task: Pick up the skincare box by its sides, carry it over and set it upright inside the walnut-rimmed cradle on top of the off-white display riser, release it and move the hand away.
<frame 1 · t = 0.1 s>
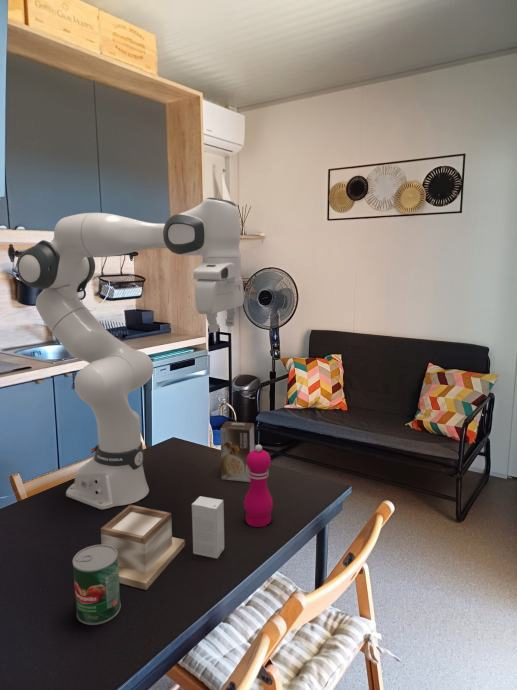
hand: (222, 329, 118), 48 cm above the table, fingers open, 8 cm apart
skincare box: (208, 552, 111), on the table
coffee box: (238, 477, 148), on the table
pepper mill: (258, 521, 124), on the table
canned tomato: (98, 610, 93), on the table
display stand: (138, 559, 108), on the table
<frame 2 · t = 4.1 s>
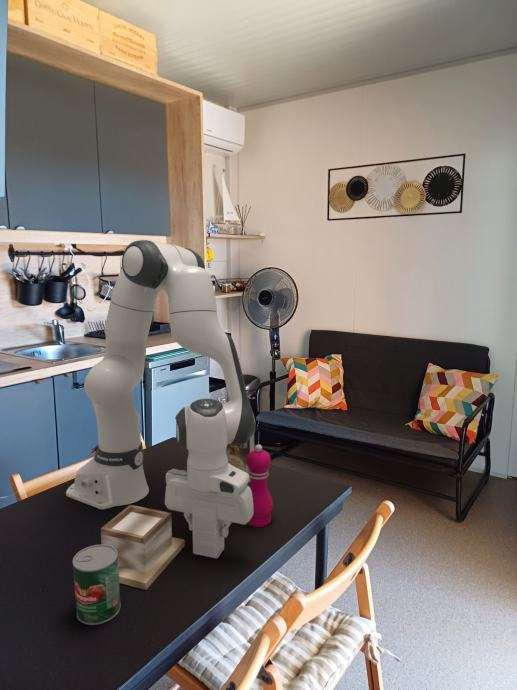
hand: (208, 532, 110), 5 cm above the table, fingers closed on skincare box, 6 cm apart
skincare box: (208, 552, 111), on the table, touching gripper
everything else where it was.
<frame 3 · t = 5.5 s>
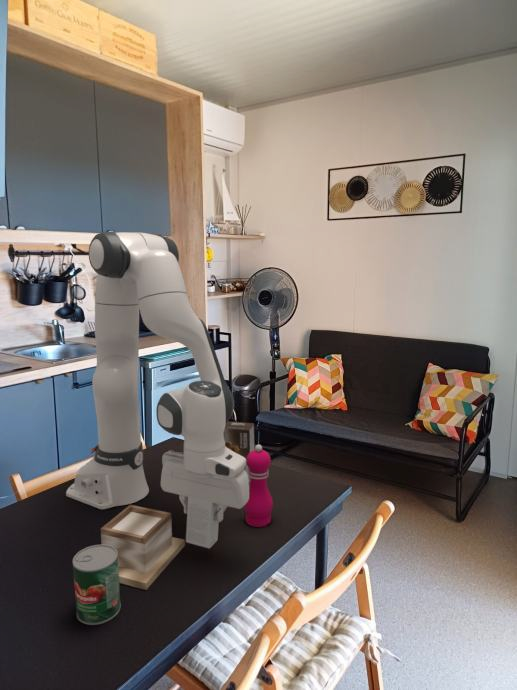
hand: (203, 516, 109), 9 cm above the table, fingers closed on skincare box, 6 cm apart
skincare box: (201, 542, 109), point 3 cm above the table, touching gripper
everything else where it was.
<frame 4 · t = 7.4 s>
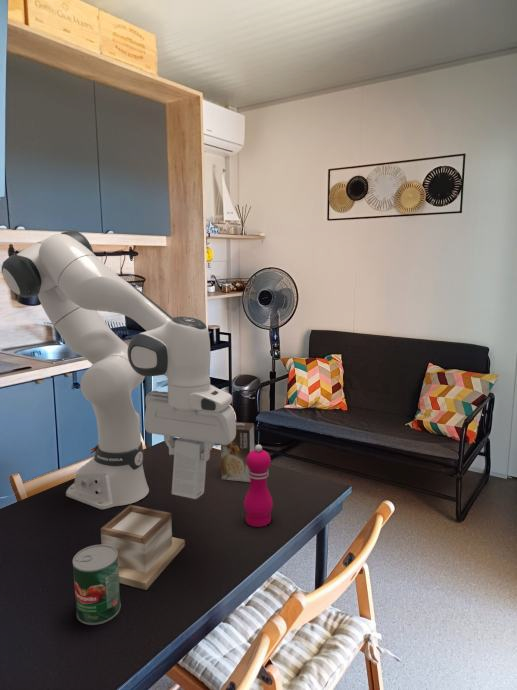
hand: (189, 457, 106), 23 cm above the table, fingers closed on skincare box, 6 cm apart
skincare box: (187, 494, 107), point 14 cm above the table, touching gripper
everything else where it was.
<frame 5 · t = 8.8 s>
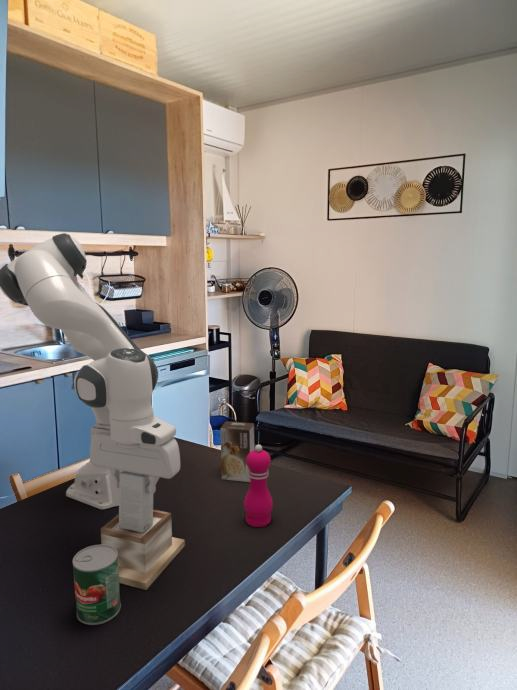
hand: (135, 490, 104), 16 cm above the table, fingers closed on skincare box, 6 cm apart
skincare box: (135, 527, 106), point 8 cm above the table, touching display stand, gripper
everything else where it was.
when the fingers open (14 cm above the table, at t = 9.7 s): skincare box stays where it is, resting on display stand.
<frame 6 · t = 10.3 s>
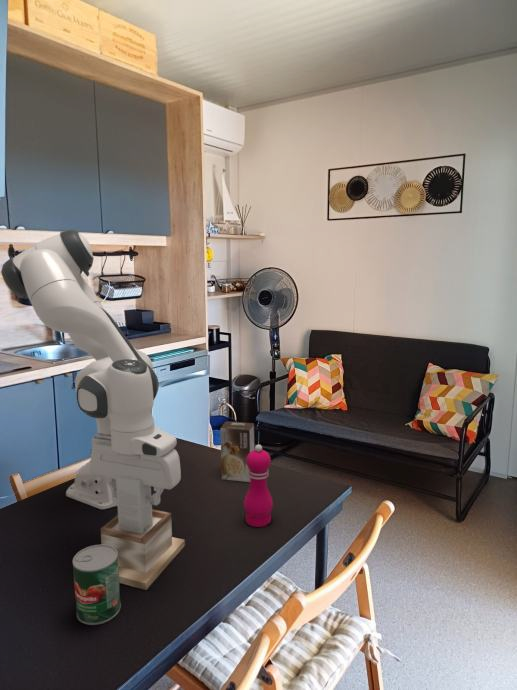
hand: (136, 499, 105), 14 cm above the table, fingers open, 8 cm apart
skincare box: (135, 528, 106), point 8 cm above the table, touching display stand
everything else where it was.
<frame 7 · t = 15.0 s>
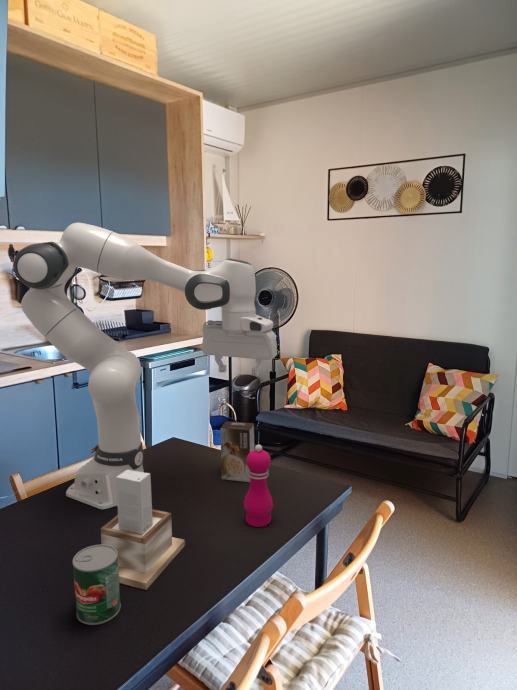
hand: (238, 373, 132), 34 cm above the table, fingers open, 8 cm apart
nothing on the table moved.
at the end: skincare box 0.7 cm off-centre on the display stand, point 7.8 cm above the display stand's base; skincare box tilted 0°; the gripper is holding nothing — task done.
